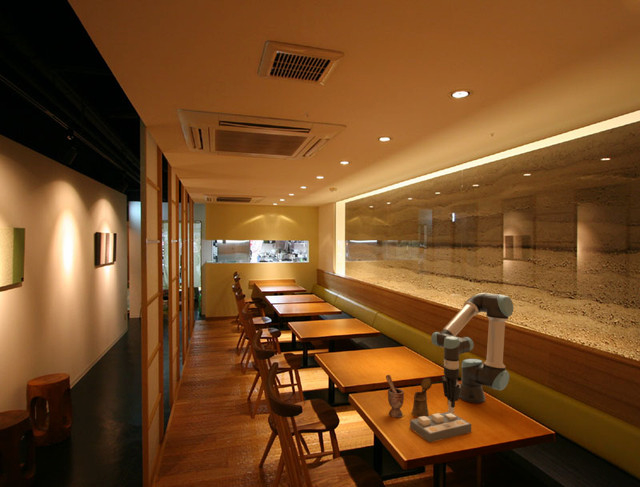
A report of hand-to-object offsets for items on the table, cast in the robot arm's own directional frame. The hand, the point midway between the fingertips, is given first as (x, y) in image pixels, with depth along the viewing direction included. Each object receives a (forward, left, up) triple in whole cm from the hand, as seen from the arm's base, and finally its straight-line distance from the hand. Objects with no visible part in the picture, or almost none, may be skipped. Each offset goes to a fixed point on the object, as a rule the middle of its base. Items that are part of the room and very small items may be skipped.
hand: (451, 412), depth 195 cm
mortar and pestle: (+21, -22, -7) cm, 31 cm away
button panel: (+9, +2, -7) cm, 11 cm away
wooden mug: (+5, -17, -7) cm, 19 cm away
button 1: (+17, 0, -4) cm, 18 cm away
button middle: (+9, 0, -4) cm, 10 cm away
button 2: (0, 0, -5) cm, 5 cm away
